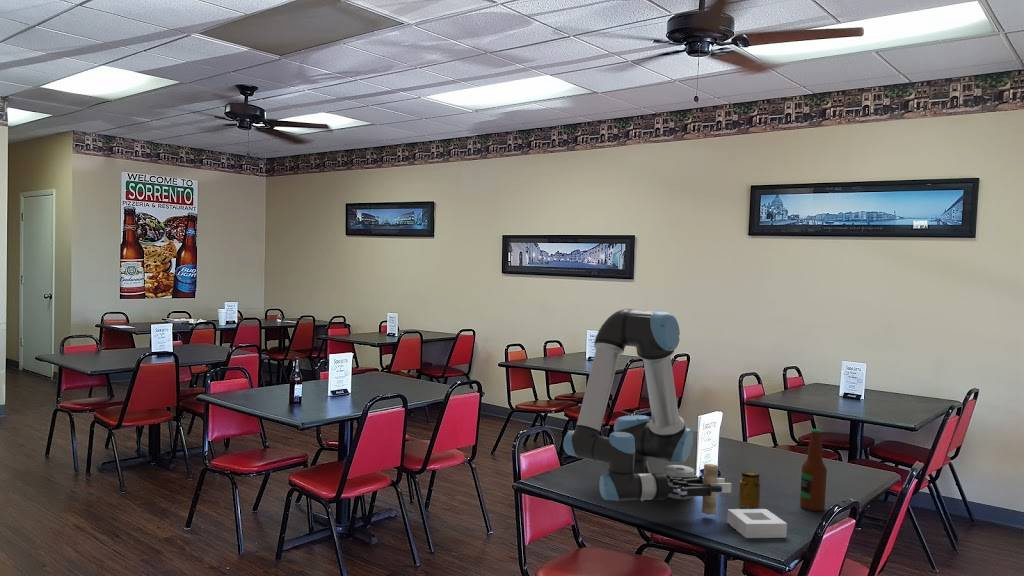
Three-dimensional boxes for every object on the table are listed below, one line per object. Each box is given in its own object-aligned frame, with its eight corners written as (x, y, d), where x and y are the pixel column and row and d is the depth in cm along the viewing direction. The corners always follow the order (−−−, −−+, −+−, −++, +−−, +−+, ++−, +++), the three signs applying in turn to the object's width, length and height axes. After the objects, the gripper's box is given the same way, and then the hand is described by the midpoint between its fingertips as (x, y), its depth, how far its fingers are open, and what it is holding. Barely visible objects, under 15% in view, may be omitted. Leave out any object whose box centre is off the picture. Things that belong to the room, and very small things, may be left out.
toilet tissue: (678, 486, 247) (679, 461, 247) (697, 498, 235) (699, 472, 234) (654, 487, 245) (655, 462, 245) (672, 499, 232) (673, 473, 232)
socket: (727, 522, 213) (727, 509, 213) (765, 522, 215) (766, 508, 215) (745, 538, 201) (746, 523, 201) (786, 537, 203) (787, 523, 203)
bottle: (803, 502, 235) (808, 426, 234) (827, 508, 230) (831, 430, 230) (796, 507, 229) (800, 429, 229) (820, 513, 225) (825, 433, 224)
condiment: (743, 506, 229) (745, 468, 229) (769, 513, 223) (771, 474, 223) (732, 511, 224) (734, 472, 223) (759, 518, 218) (761, 479, 218)
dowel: (699, 509, 218) (701, 463, 217) (712, 509, 219) (714, 463, 218) (705, 514, 214) (707, 467, 213) (718, 514, 215) (720, 467, 214)
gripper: (642, 489, 222) (714, 488, 225) (661, 509, 205) (739, 507, 209) (643, 465, 222) (715, 464, 225) (662, 483, 205) (740, 481, 208)
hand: (727, 485), depth 217 cm, fingers closed on dowel, 4 cm apart
